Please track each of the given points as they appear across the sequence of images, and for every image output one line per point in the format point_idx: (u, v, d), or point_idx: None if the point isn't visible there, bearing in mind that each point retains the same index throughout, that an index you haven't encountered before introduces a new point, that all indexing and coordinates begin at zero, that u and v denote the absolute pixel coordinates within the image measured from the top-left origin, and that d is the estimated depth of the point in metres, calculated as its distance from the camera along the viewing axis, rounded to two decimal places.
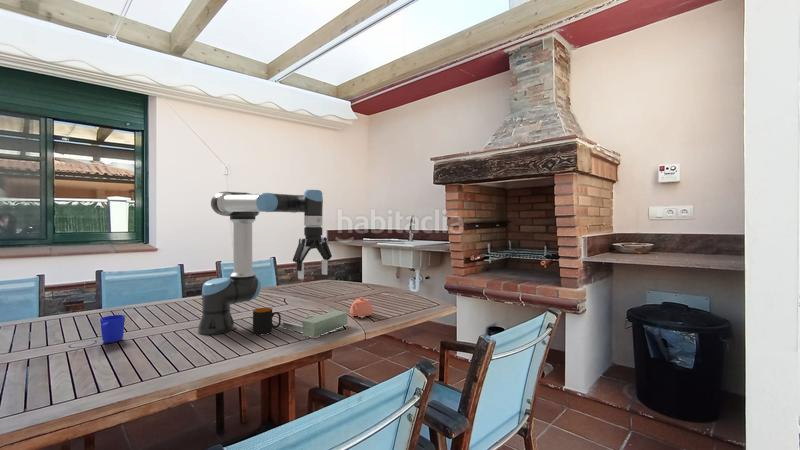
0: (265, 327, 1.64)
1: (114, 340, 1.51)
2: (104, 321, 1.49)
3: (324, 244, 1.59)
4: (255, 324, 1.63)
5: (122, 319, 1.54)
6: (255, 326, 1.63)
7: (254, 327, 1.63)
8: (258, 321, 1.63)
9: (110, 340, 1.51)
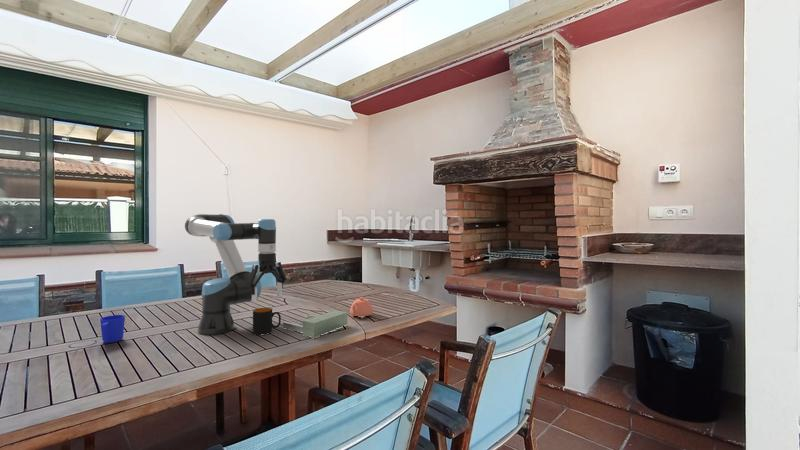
0: (265, 327, 1.64)
1: (114, 340, 1.51)
2: (104, 321, 1.49)
3: (278, 268, 1.72)
4: (255, 324, 1.63)
5: (122, 319, 1.54)
6: (255, 326, 1.63)
7: (254, 327, 1.63)
8: (258, 321, 1.63)
9: (110, 340, 1.51)
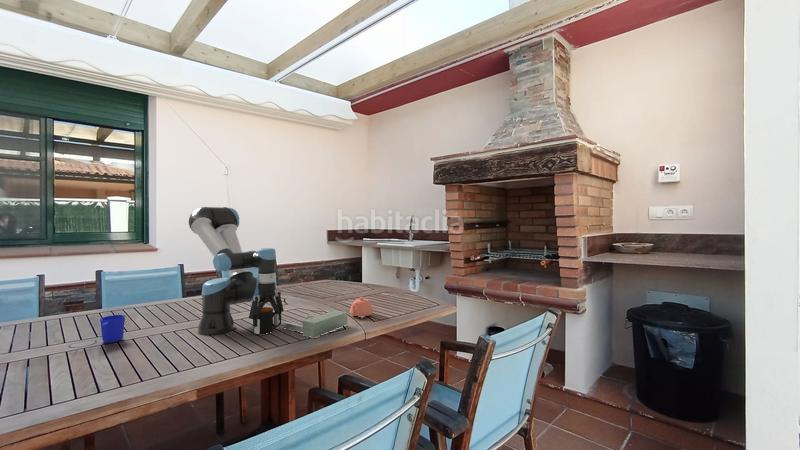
0: (266, 326, 1.64)
1: (114, 340, 1.51)
2: (104, 321, 1.49)
3: (277, 298, 1.72)
4: None
5: (122, 319, 1.54)
6: None
7: None
8: None
9: (110, 340, 1.51)
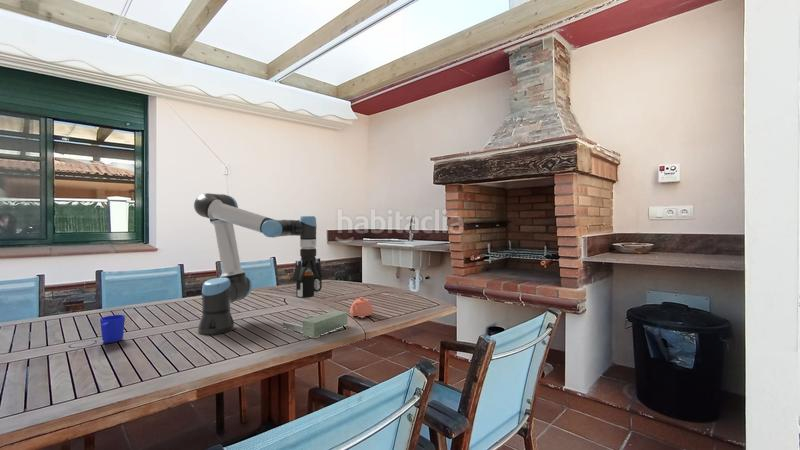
0: (309, 290, 1.72)
1: (114, 340, 1.51)
2: (104, 321, 1.49)
3: (317, 264, 1.79)
4: None
5: (122, 319, 1.54)
6: None
7: None
8: None
9: (110, 340, 1.51)
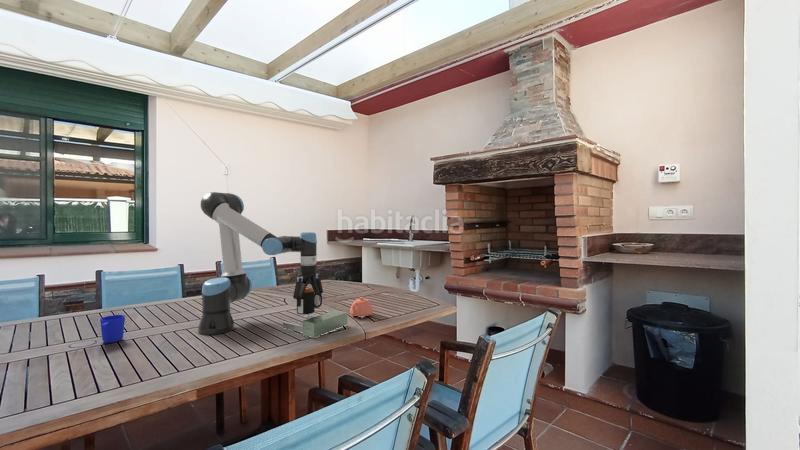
0: (309, 306, 1.72)
1: (114, 340, 1.51)
2: (104, 321, 1.49)
3: (317, 280, 1.80)
4: None
5: (122, 319, 1.54)
6: None
7: None
8: None
9: (110, 340, 1.51)
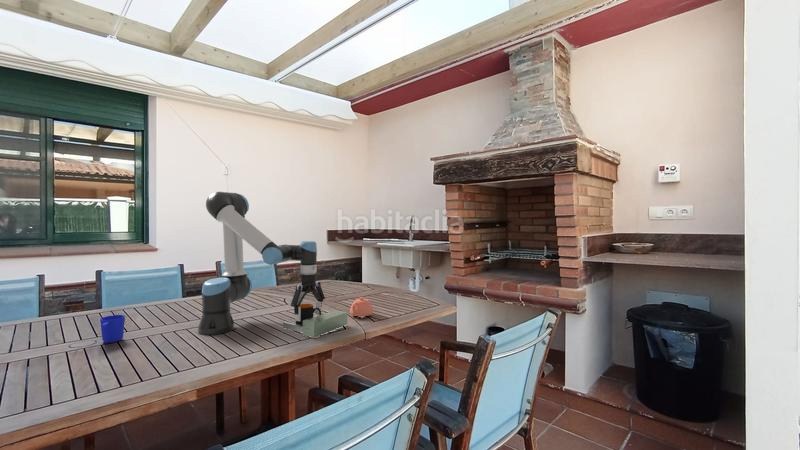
0: None
1: (114, 340, 1.51)
2: (104, 321, 1.49)
3: (318, 288, 1.80)
4: None
5: (122, 319, 1.54)
6: (298, 321, 1.71)
7: (297, 322, 1.72)
8: (301, 316, 1.71)
9: (110, 340, 1.51)
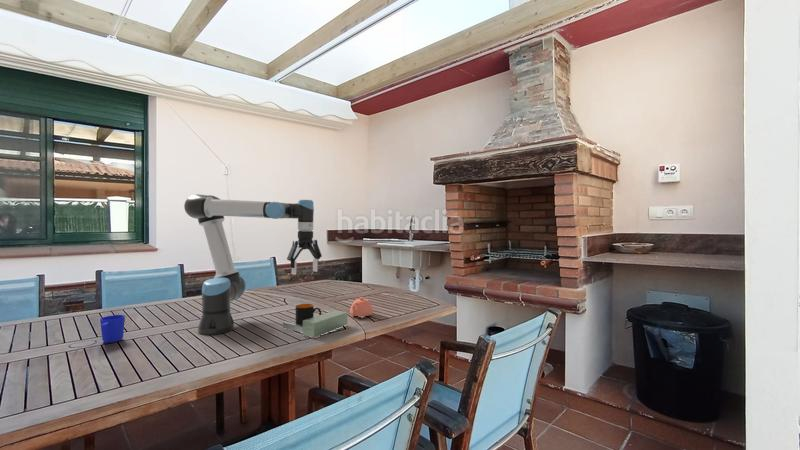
0: None
1: (114, 340, 1.51)
2: (104, 321, 1.49)
3: (315, 245, 1.87)
4: (298, 319, 1.71)
5: (122, 319, 1.54)
6: (298, 321, 1.71)
7: (297, 322, 1.72)
8: (301, 316, 1.71)
9: (110, 340, 1.51)
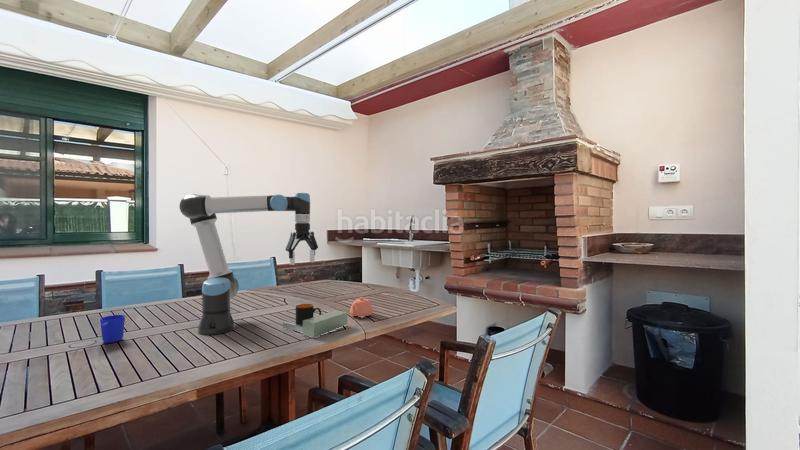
0: None
1: (114, 340, 1.51)
2: (104, 321, 1.49)
3: (311, 237, 1.95)
4: (298, 319, 1.71)
5: (122, 319, 1.54)
6: (298, 321, 1.71)
7: (297, 322, 1.72)
8: (301, 316, 1.71)
9: (110, 340, 1.51)
